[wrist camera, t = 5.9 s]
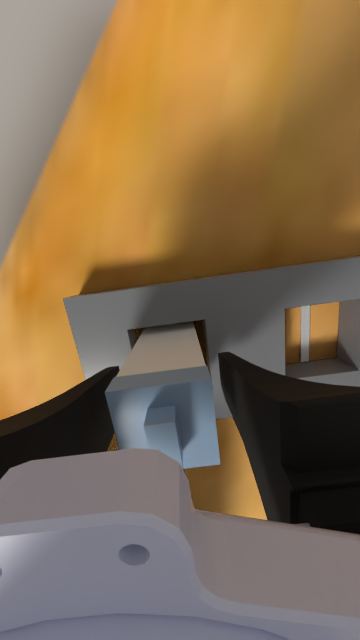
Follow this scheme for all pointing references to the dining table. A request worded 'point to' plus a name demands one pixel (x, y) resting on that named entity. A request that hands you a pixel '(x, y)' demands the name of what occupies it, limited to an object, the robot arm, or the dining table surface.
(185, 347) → the plug
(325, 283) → the socket strip
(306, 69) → the dining table surface
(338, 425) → the robot arm
